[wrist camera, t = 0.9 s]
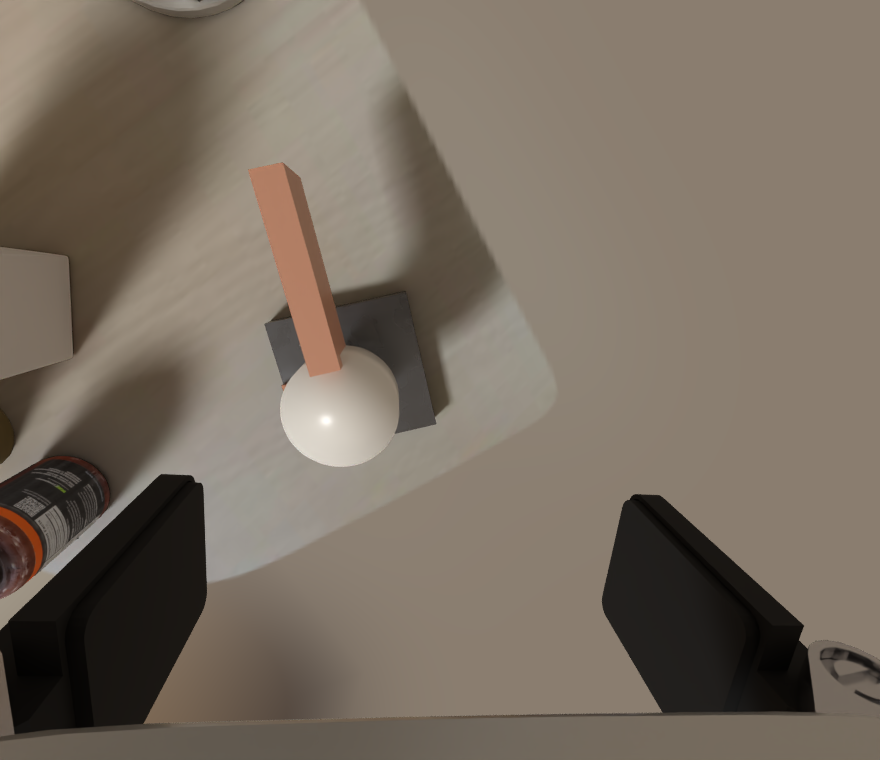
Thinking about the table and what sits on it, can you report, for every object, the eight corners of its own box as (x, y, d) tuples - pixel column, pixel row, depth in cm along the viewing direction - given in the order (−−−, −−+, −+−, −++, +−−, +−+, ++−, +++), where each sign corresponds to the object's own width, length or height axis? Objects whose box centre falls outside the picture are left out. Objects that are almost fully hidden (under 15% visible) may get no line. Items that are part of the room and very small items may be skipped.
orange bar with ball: (409, 433, 29) (411, 459, 25) (309, 456, 29) (295, 486, 25) (343, 168, 25) (334, 151, 21) (226, 193, 25) (195, 180, 21)
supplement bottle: (27, 517, 35) (-137, 631, 25) (30, 446, 34) (-143, 532, 23) (111, 529, 36) (-12, 645, 25) (117, 460, 35) (-11, 550, 24)
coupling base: (270, 321, 33) (240, 334, 27) (405, 291, 34) (407, 297, 28) (309, 446, 36) (290, 485, 30) (434, 417, 36) (442, 450, 30)
